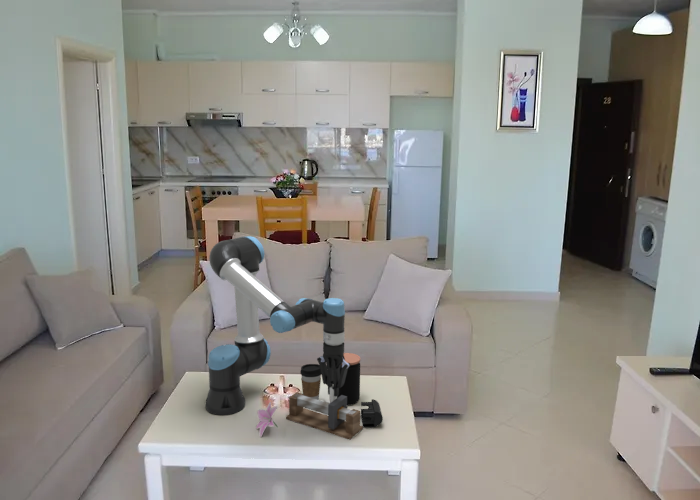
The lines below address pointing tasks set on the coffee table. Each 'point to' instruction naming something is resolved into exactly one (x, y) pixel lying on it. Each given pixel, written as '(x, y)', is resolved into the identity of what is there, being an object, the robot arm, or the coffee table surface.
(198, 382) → the coffee table surface
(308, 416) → the pipe stand
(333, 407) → the collar
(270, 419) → the lily
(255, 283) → the robot arm
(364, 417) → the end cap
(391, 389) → the coffee table surface
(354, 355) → the coffee jar
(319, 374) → the coffee cup
